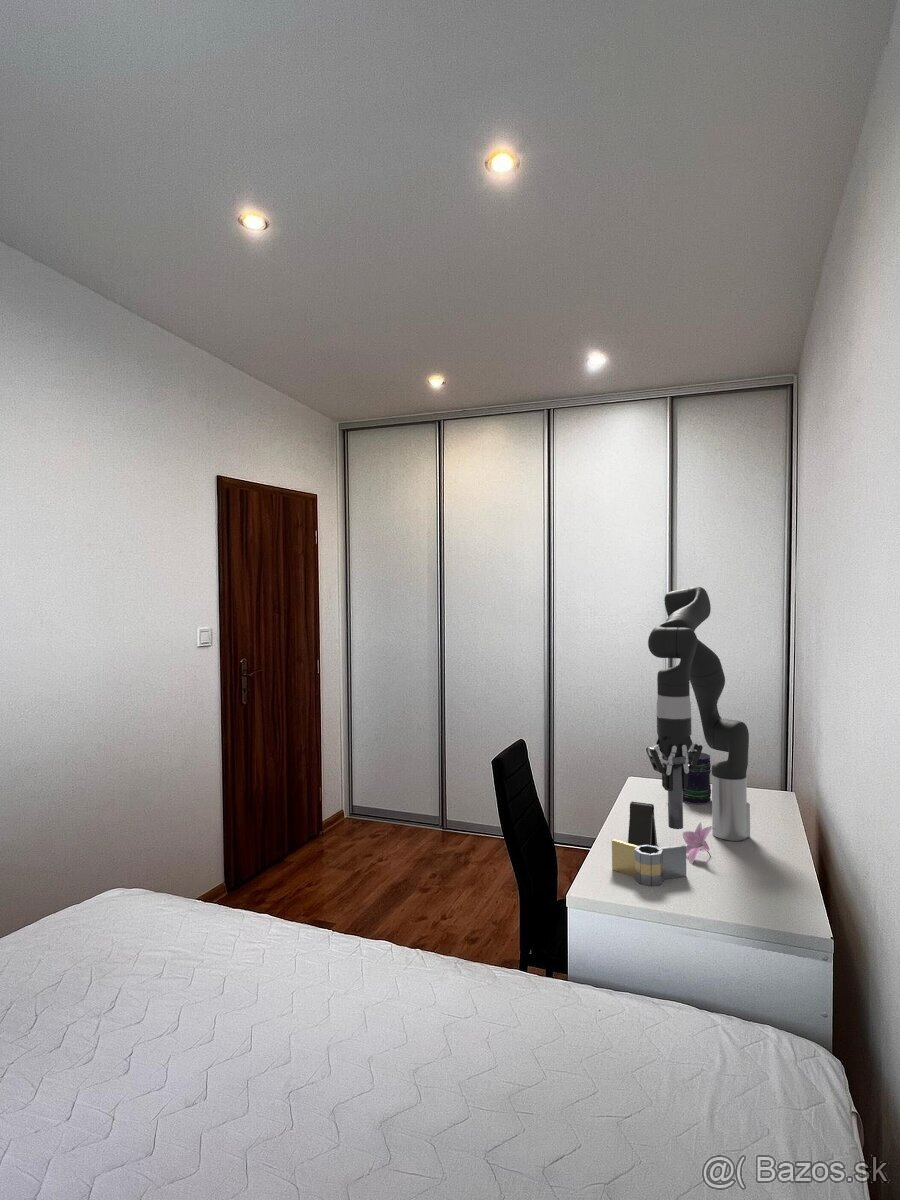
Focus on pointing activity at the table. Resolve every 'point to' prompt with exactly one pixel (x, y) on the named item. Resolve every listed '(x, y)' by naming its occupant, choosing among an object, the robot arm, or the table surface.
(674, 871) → the hinge
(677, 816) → the hinge pin
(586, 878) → the table surface
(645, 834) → the phone stand
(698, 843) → the lily
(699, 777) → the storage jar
